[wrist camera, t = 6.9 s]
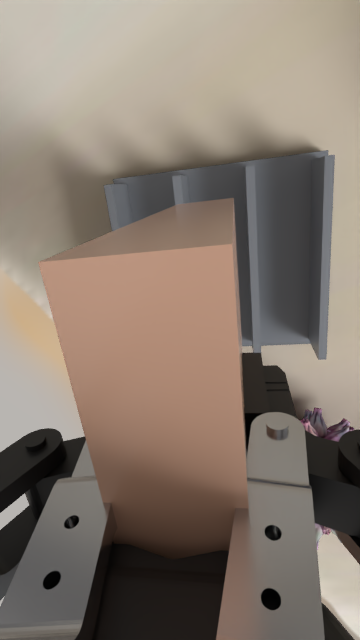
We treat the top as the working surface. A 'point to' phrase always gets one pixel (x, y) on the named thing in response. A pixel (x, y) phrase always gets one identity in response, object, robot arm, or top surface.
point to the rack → (258, 236)
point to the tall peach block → (159, 373)
